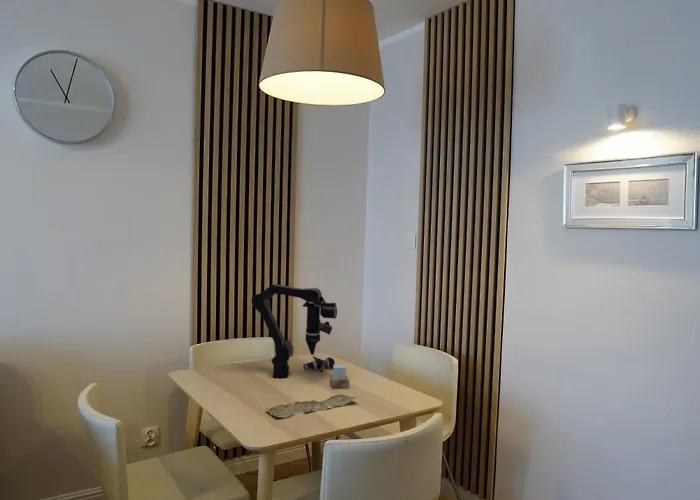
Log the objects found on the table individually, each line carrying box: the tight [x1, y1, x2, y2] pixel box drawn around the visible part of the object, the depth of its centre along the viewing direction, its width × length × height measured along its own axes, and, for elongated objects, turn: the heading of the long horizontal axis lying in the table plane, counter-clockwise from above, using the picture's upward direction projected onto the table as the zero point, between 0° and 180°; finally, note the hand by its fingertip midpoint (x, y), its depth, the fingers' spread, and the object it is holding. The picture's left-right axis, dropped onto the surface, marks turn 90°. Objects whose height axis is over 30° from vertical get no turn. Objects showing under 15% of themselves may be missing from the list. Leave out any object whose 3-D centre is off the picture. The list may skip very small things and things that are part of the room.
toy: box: [302, 355, 336, 373], centre depth 248 cm, size 16×5×15 cm
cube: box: [332, 364, 347, 380], centre depth 221 cm, size 5×5×5 cm
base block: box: [329, 375, 350, 390], centre depth 221 cm, size 7×7×4 cm
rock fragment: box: [265, 394, 357, 419], centre depth 195 cm, size 34×10×3 cm, turn 125°
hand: (312, 352), depth 231 cm, fingers open, 9 cm apart
